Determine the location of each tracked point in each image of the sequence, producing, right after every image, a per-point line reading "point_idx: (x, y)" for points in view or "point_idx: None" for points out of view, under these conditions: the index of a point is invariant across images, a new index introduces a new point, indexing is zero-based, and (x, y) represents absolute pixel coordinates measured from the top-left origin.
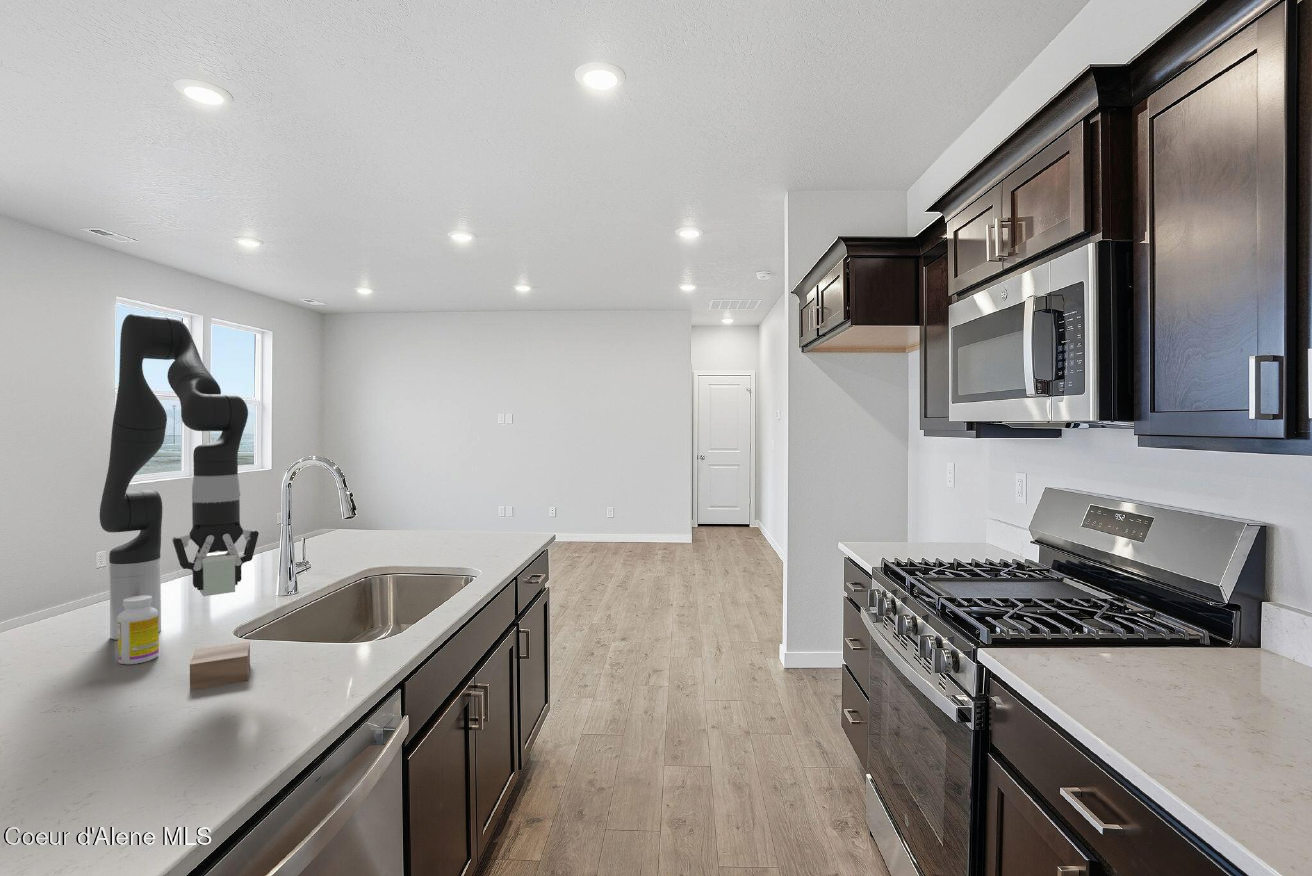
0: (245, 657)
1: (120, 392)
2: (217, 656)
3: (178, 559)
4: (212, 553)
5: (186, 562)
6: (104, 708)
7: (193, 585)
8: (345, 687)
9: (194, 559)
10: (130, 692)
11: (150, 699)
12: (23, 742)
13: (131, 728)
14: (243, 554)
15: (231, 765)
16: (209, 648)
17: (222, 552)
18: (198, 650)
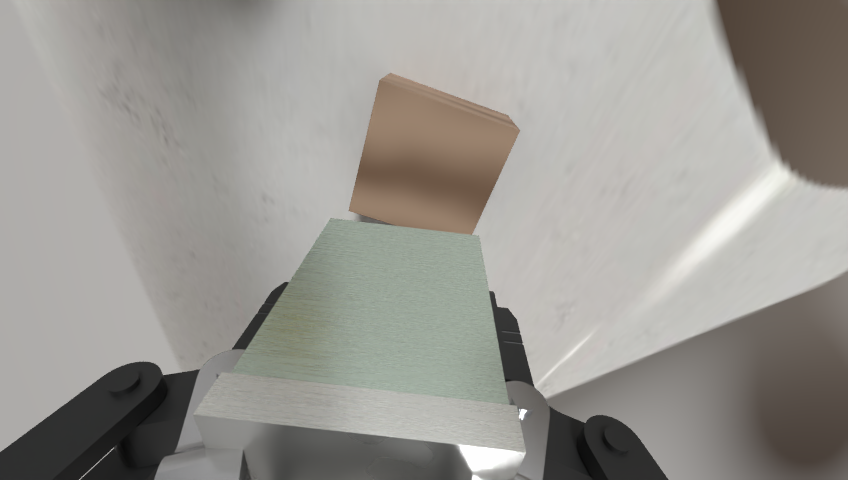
0: None
1: None
2: (412, 199)
3: (42, 429)
4: (331, 450)
5: (146, 477)
6: (219, 169)
7: (280, 288)
8: (557, 358)
9: (187, 433)
10: (254, 103)
11: (294, 184)
12: (131, 232)
13: (272, 289)
14: (597, 465)
15: None
16: (413, 105)
17: (428, 464)
18: (384, 99)
